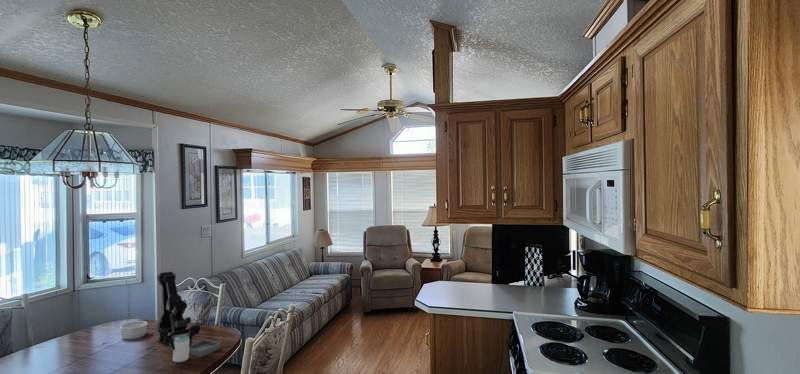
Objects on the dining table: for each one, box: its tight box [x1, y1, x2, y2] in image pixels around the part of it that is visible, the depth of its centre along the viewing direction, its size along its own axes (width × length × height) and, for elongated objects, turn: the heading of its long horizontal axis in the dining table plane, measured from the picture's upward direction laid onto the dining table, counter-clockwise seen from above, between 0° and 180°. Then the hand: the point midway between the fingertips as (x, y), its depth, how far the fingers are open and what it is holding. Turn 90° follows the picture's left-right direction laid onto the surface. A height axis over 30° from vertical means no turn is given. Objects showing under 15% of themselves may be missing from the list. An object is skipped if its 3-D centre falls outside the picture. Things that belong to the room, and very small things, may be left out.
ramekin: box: [119, 320, 148, 340], centre depth 220 cm, size 13×13×7 cm
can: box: [172, 334, 190, 363], centre depth 191 cm, size 7×7×12 cm
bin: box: [189, 339, 222, 358], centre depth 203 cm, size 13×13×3 cm
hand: (182, 348), depth 190 cm, fingers closed on can, 7 cm apart
